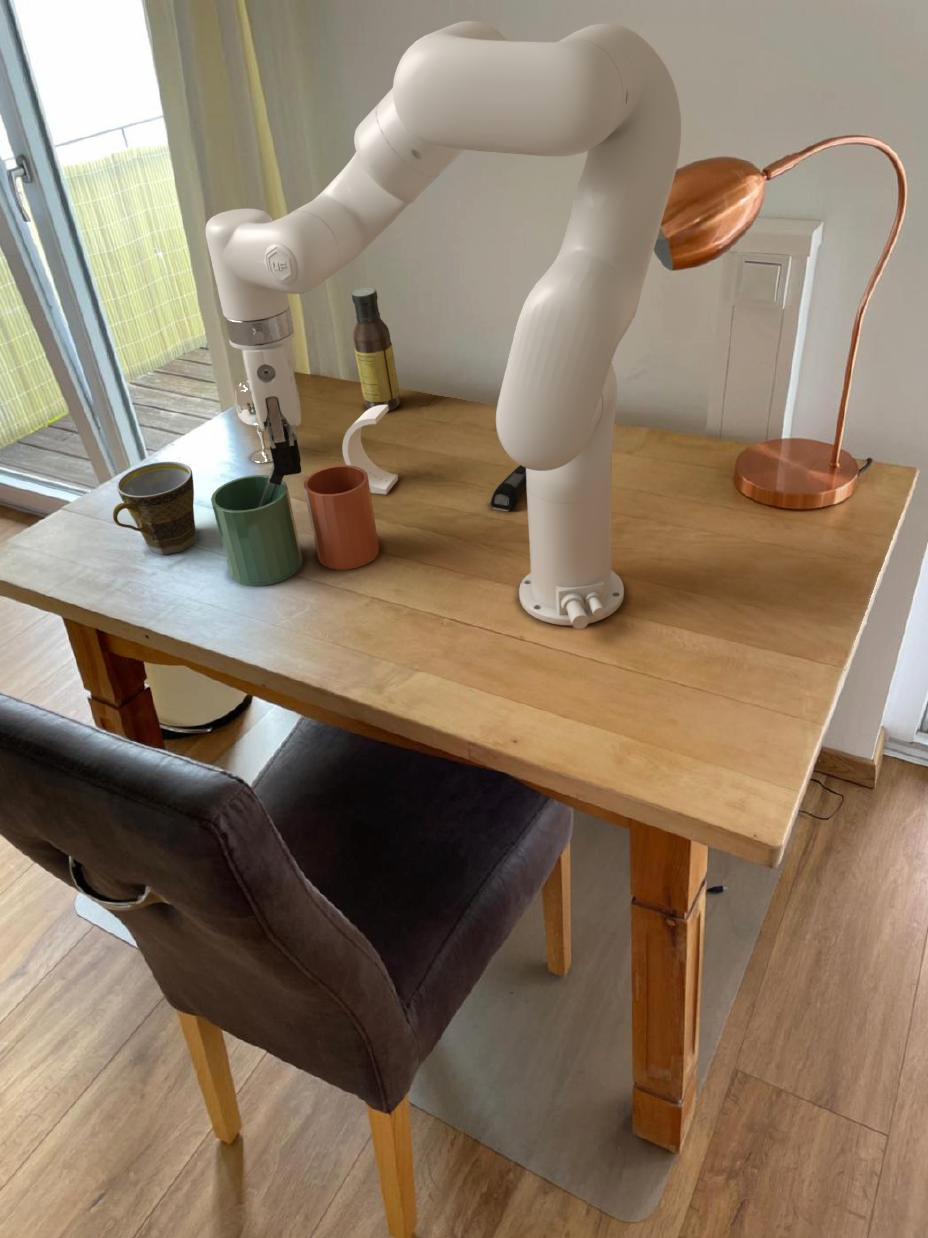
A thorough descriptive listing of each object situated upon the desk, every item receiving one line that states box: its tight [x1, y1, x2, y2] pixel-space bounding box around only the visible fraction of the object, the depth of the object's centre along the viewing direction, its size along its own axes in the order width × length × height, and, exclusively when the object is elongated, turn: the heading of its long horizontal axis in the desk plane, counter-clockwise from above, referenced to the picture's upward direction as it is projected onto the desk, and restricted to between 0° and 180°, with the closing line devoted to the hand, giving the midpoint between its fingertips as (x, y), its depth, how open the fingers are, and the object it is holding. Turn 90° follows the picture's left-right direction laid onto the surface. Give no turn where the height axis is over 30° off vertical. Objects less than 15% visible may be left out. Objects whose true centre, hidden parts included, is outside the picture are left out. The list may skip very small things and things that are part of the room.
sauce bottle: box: [351, 287, 401, 412], centre depth 166 cm, size 6×6×20 cm
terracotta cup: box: [303, 464, 380, 571], centre depth 131 cm, size 8×8×11 cm
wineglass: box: [234, 379, 273, 464], centre depth 156 cm, size 6×6×12 cm
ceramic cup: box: [112, 461, 197, 556], centre depth 136 cm, size 13×10×10 cm
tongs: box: [258, 425, 298, 508], centre depth 128 cm, size 2×10×18 cm, turn 99°
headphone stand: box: [341, 405, 399, 495], centre depth 146 cm, size 5×6×12 cm
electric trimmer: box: [490, 464, 527, 512], centre depth 145 cm, size 4×16×3 cm, turn 153°
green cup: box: [210, 474, 303, 587], centre depth 130 cm, size 10×10×11 cm
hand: (288, 467), depth 126 cm, fingers closed on tongs, 2 cm apart
